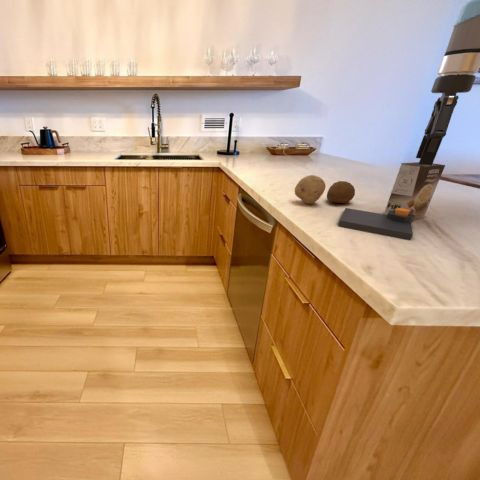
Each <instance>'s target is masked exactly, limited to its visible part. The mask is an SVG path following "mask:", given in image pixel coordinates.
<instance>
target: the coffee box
mask: <svg viewBox="0 0 480 480" xmlns="http://www.w3.org/2000/svg"><path fill="white" fill-rule="evenodd" d="M445 168H446V164H441V163H434V162H433V164H432V165H421V164H419V161H416V162H401V163H400V167H399V170H398V172H397V175H396V177H395V181H394V184H393V186H392V190H391V192H390V195H389V197H388V201H387V203H386V206H385V209H384V212H383V214H386V215H387V214H388V211H391V210H396V208H404V209H408V210H410V212H409V213H412V214H414V215H415V218H414V221H417V220H422V219H424V218H425V215H426V213H427V211H428V208H429V206H430V203H431V201H432V198H433V196H434V194H435V191H436V189H437V186H438V184H439V182H440V180H441V177H442V174H443V172H444V170H445Z"/></svg>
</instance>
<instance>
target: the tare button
mask: <svg viewBox="0 0 480 480" xmlns="http://www.w3.org/2000/svg"><path fill="white" fill-rule="evenodd" d="M409 212H410V210H408V209H404V208H396V211H395V214H398V215H403V216H408V214H409Z"/></svg>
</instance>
